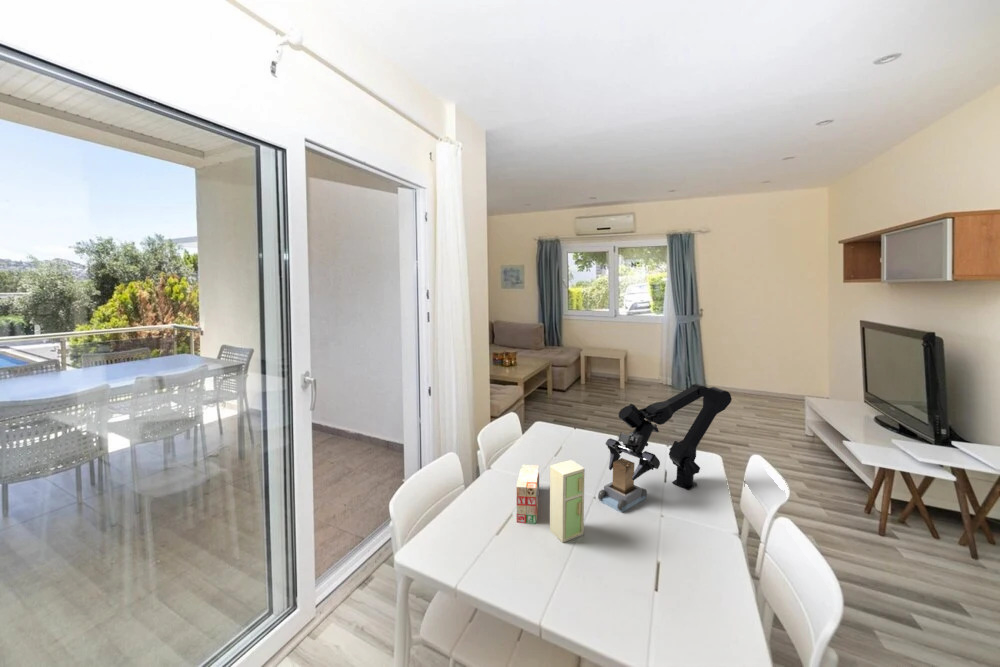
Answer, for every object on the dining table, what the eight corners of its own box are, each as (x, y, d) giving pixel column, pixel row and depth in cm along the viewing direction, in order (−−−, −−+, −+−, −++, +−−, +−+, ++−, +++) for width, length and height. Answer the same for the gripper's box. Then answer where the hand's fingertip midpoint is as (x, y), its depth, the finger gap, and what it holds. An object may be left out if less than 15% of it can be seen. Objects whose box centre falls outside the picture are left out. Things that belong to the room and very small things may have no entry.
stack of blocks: (522, 488, 142) (522, 456, 141) (539, 489, 141) (539, 457, 140) (516, 523, 121) (516, 486, 120) (536, 524, 120) (536, 487, 119)
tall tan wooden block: (620, 490, 137) (621, 457, 136) (633, 496, 133) (634, 463, 132) (612, 494, 134) (613, 461, 133) (624, 501, 130) (625, 467, 129)
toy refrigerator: (563, 544, 111) (564, 475, 108) (549, 530, 117) (549, 464, 115) (585, 536, 114) (586, 469, 112) (570, 523, 121) (570, 459, 118)
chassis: (624, 487, 142) (624, 475, 142) (646, 497, 135) (647, 485, 134) (598, 501, 133) (598, 489, 132) (620, 513, 126) (620, 500, 125)
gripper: (609, 416, 141) (588, 453, 135) (656, 431, 126) (635, 473, 121) (621, 432, 146) (602, 468, 141) (668, 448, 132) (649, 489, 126)
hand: (620, 474), depth 132 cm, fingers open, 9 cm apart
